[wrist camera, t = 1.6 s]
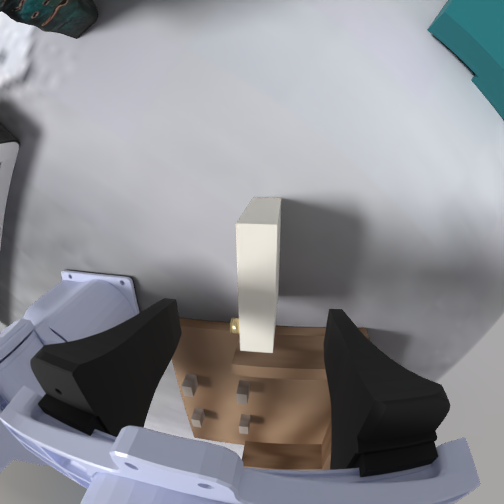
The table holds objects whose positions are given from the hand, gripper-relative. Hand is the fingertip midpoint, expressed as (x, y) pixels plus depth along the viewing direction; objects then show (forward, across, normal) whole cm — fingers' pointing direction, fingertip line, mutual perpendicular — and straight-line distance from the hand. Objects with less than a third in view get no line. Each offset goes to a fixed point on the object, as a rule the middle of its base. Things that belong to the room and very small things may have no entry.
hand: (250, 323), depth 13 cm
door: (+10, 0, 0) cm, 10 cm away
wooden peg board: (+9, -1, +17) cm, 19 cm away
